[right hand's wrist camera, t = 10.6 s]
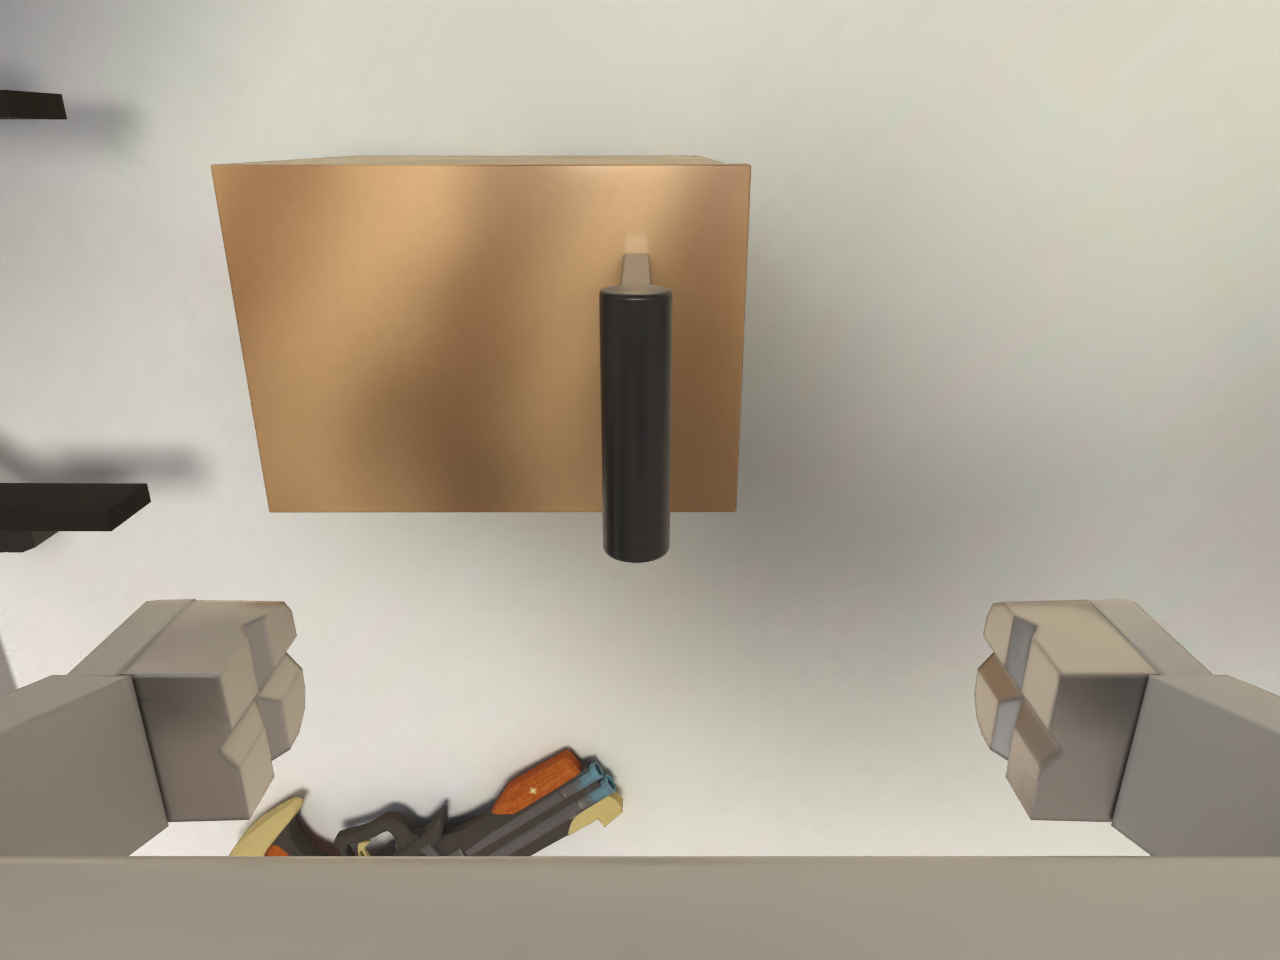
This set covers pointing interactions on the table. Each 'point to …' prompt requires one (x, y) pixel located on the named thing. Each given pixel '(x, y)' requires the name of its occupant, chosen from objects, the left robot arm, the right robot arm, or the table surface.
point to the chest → (498, 160)
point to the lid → (494, 337)
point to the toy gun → (512, 827)
